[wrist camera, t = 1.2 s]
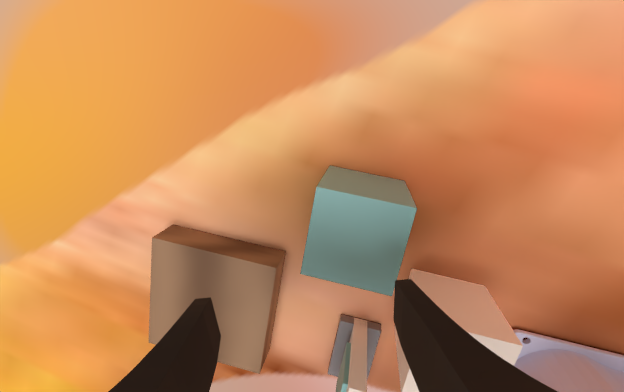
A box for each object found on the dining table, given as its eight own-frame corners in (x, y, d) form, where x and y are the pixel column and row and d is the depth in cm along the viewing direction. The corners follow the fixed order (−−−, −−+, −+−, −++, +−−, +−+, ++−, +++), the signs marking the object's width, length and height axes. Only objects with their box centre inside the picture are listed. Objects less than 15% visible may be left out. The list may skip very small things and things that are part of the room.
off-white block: (484, 285, 23) (522, 345, 17) (462, 344, 24) (490, 418, 18) (411, 268, 23) (424, 321, 18) (393, 326, 25) (401, 393, 19)
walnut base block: (287, 249, 25) (276, 267, 22) (270, 345, 28) (259, 373, 25) (176, 222, 26) (152, 237, 23) (170, 318, 29) (148, 342, 26)
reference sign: (380, 324, 25) (384, 397, 19) (365, 376, 26) (364, 460, 20) (341, 313, 25) (332, 382, 19) (328, 366, 27) (316, 445, 20)
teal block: (404, 180, 22) (416, 208, 16) (386, 248, 23) (391, 296, 18) (329, 165, 22) (316, 186, 17) (316, 232, 24) (300, 273, 18)
